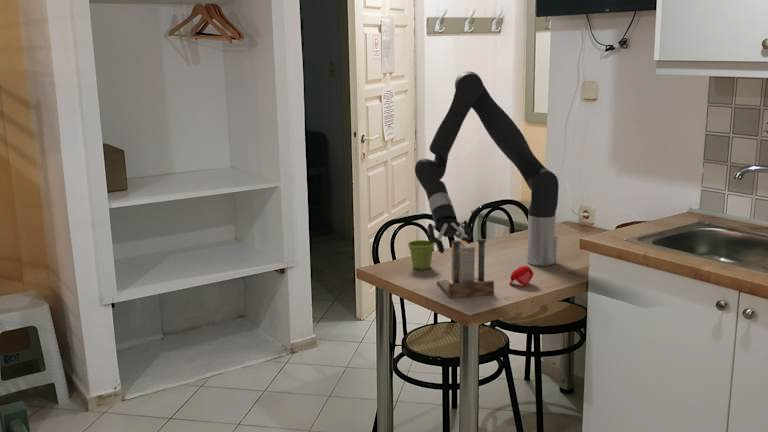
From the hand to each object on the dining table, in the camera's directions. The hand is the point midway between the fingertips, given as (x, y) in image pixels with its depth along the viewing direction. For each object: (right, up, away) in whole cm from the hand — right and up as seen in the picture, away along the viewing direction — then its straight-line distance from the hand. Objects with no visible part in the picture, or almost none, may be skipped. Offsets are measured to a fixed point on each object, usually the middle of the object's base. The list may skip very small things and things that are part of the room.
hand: (455, 251), depth 244 cm
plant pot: (-10, -7, +19) cm, 22 cm away
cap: (+21, -11, -2) cm, 24 cm away
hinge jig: (+2, -12, -6) cm, 14 cm away
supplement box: (+2, -10, -5) cm, 12 cm away
